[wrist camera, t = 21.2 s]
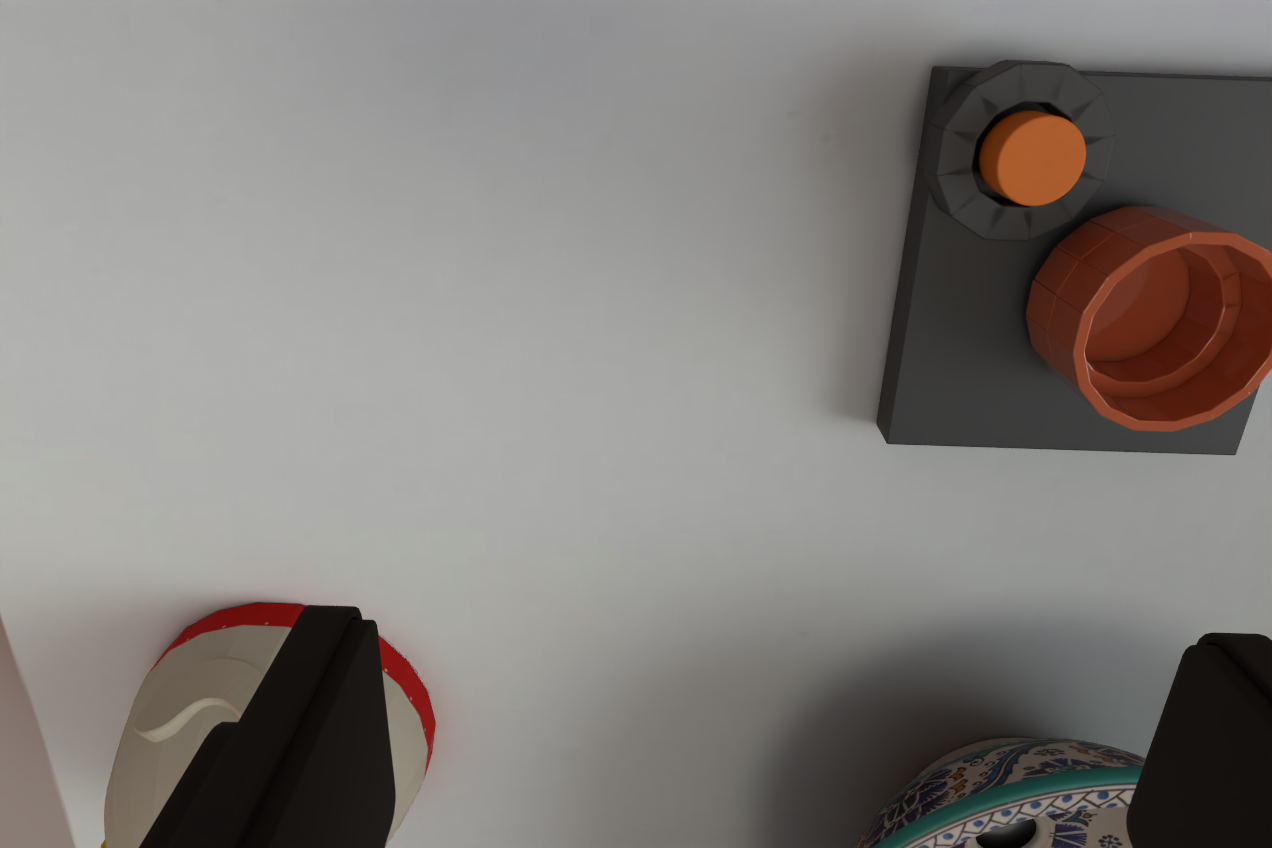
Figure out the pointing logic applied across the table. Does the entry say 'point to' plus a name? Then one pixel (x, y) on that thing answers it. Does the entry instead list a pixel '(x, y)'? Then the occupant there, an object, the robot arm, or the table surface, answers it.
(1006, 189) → the button
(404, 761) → the kitchen timer
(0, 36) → the table surface
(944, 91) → the scale
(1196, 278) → the terracotta bowl
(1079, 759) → the bowl
